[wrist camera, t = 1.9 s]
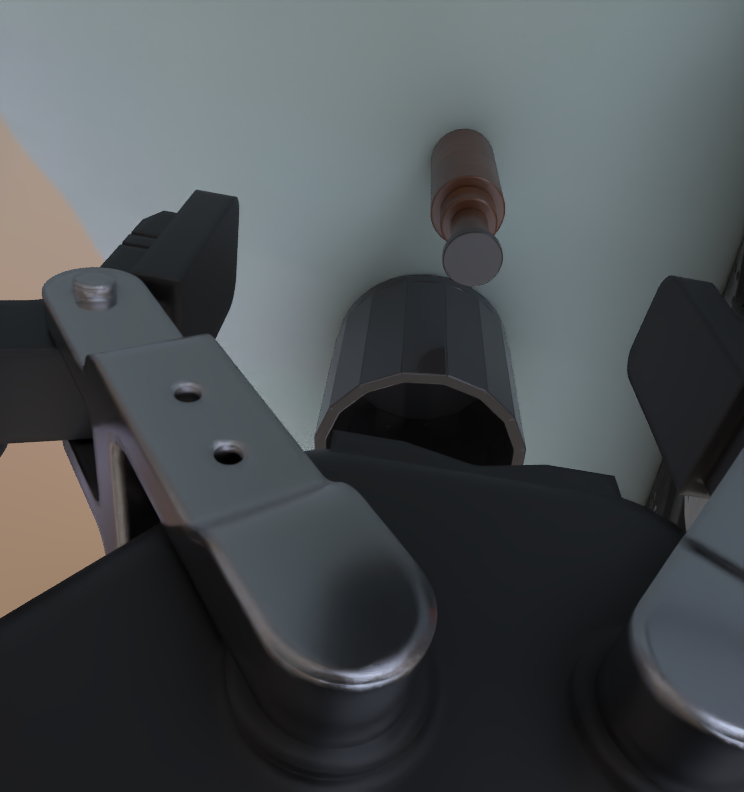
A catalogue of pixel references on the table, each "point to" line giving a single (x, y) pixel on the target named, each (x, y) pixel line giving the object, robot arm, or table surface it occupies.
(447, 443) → the mug
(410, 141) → the table surface
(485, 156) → the bat
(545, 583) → the robot arm
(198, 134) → the table surface
